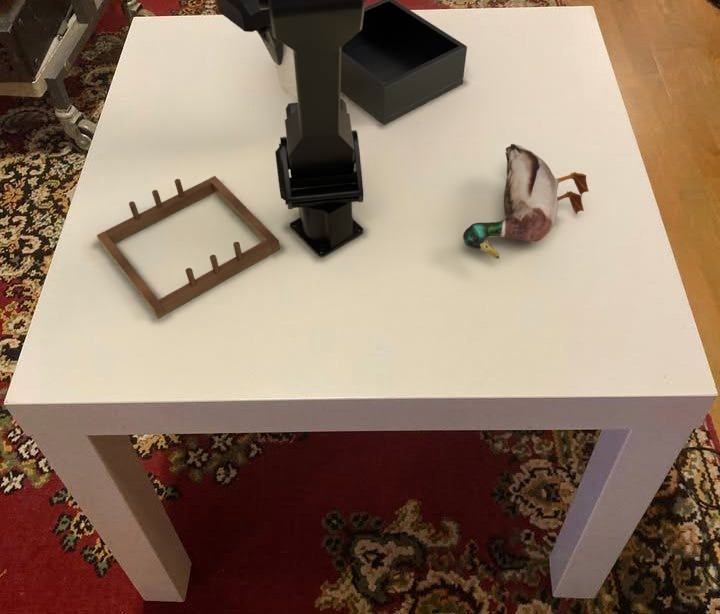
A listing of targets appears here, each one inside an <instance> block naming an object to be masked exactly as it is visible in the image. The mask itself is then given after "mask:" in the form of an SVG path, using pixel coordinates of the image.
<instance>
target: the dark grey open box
mask: <svg viewBox="0 0 720 614" xmlns="http://www.w3.org/2000/svg"><path fill="white" fill-rule="evenodd" d="M467 51H468V46H467V45H466V44H464V43H463V42H461V41H460V40H458V39H456V38H454V37H453V36H452V35H450V34H449V33H447V32H445V31H444V30H442V29H440V28H439V27H437V26H436V25H434V24H433V23H431V22H430V21H428V20H426V19H425V18H424V17H422V16H420V15H419V14H417V13H416V12H415V11H412V10H411V9H409V8H408V7H407V6H405V5H403V4H402V3H400V2H398V1H397V0H379V1H376V2H374V3H372V4H370V5H367V6H365V8H364V17H363V25H362V29H361V31H360V32H359V33H357V34H356V35H355V36H354V37H353V38H351V39H350V40H349V41H348V42H347V43H345V44H344V45H343V46H342V47H341V93H342V94H343V95H344V96H346V97H347V98H348V99H350V100H351V101H352V102H353V103H355V104H356V105H357V106H359V107H360V108H361V109H362V110H364V111H365V112H366V113H367V114H369V115H370V116H371V117H373V118H374V119H376V121H378V122H379V123H381V125H383V126H386V125H387V124H390V123H391V122H393V121H396V120H397V119H399V118H401V117H402V116H404V115H406V114H408V113H411V112H412V111H414V110H416V109H418V108H419V107H421V106H424V105H425V104H428V103H430V102H431V101H433V100H434V99H438V98H439V97H440V96H443V95H445V94H446V93H448V92H450V91H452V90H454V89H456V88H458V87H459V86H461V85H463V84H464V76H465V68H466V60H467Z"/></svg>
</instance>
